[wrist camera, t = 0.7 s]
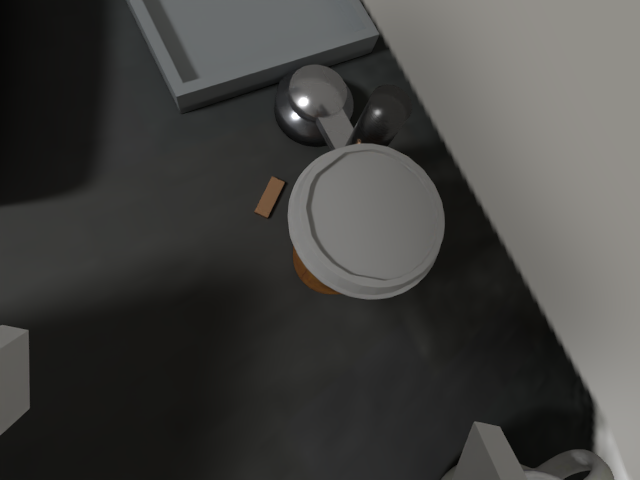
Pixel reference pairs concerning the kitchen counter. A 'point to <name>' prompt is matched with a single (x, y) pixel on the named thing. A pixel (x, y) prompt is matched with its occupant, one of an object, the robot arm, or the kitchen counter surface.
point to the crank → (327, 110)
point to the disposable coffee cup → (364, 222)
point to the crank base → (293, 136)
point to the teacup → (564, 467)
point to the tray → (246, 42)
